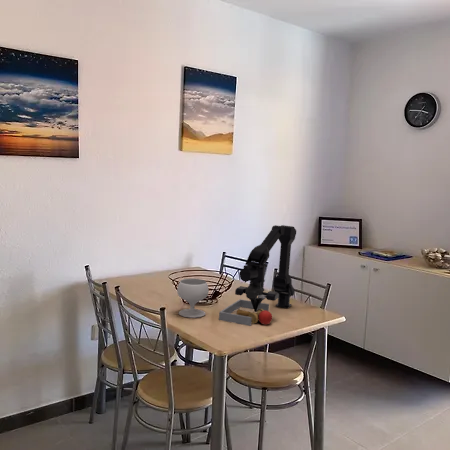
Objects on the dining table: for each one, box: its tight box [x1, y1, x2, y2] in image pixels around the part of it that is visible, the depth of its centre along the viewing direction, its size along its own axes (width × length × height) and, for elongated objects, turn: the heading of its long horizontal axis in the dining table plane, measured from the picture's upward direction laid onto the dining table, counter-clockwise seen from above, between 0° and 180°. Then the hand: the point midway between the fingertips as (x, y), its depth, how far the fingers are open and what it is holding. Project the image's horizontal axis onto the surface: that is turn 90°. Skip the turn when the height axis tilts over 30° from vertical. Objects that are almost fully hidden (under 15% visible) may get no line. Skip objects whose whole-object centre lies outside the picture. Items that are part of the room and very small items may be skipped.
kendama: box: [236, 308, 273, 326], centre depth 203 cm, size 8×6×18 cm
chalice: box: [176, 277, 210, 319], centre depth 207 cm, size 14×14×15 cm
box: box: [218, 298, 270, 327], centre depth 209 cm, size 24×15×4 cm, turn 156°
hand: (255, 311), depth 207 cm, fingers closed
